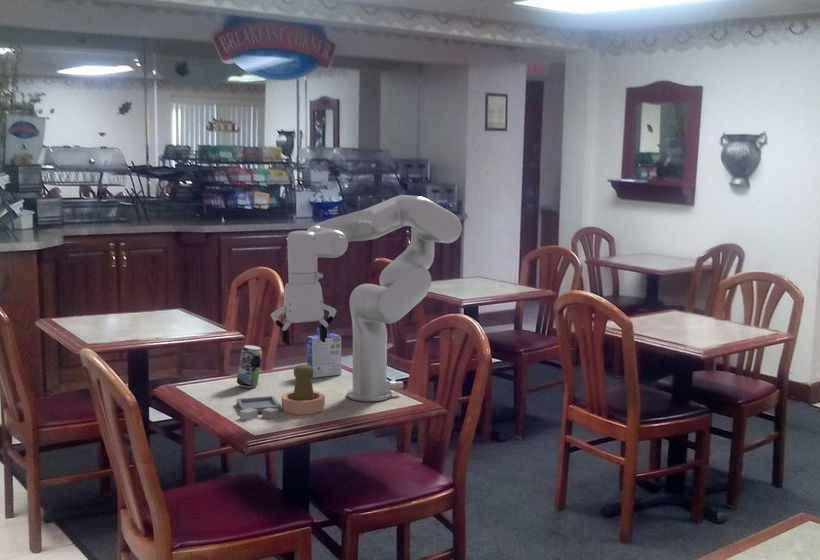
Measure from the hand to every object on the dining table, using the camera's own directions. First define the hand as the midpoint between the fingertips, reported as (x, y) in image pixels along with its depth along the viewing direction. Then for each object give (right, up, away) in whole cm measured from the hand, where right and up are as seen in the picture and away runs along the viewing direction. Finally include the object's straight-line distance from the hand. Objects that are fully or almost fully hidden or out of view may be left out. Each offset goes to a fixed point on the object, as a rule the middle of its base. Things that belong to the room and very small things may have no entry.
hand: (304, 342), depth 227 cm
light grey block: (-14, -19, -6) cm, 24 cm away
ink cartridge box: (+1, -13, +38) cm, 40 cm away
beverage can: (-19, -15, +23) cm, 33 cm away
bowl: (-1, -18, +2) cm, 18 cm away
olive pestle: (-1, -17, +2) cm, 17 cm away
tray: (-13, -17, +3) cm, 22 cm away
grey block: (-8, -19, -5) cm, 21 cm away
